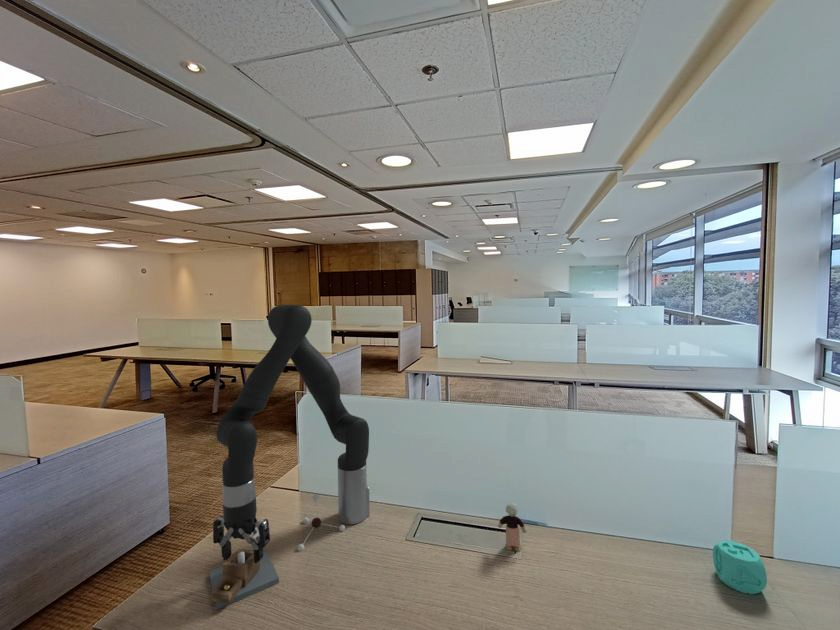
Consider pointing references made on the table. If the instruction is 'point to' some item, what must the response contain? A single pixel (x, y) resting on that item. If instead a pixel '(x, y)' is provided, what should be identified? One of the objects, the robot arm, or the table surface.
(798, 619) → the table surface
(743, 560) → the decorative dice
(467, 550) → the table surface
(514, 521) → the grandmother figurine
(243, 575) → the brown hollow open box
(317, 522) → the molecular model
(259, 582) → the slate board
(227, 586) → the brass dowel
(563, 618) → the table surface
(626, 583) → the table surface
